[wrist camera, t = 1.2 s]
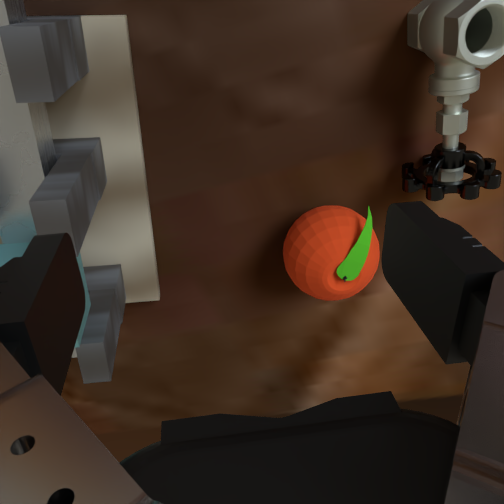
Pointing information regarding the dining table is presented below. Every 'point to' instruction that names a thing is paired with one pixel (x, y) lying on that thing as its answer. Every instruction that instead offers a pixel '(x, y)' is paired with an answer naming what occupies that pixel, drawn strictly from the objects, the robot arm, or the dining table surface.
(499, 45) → the valve
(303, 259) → the clementine
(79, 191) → the frame
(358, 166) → the dining table surface
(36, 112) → the shaft
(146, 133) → the dining table surface
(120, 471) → the robot arm
